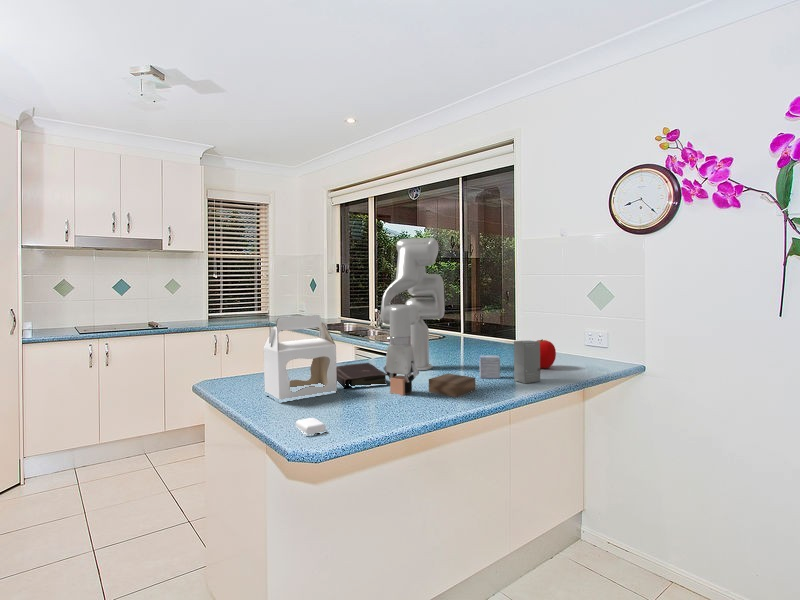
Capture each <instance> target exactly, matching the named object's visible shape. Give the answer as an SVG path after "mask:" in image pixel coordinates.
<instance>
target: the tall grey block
mask: <svg viewBox="0 0 800 600" xmlns="http://www.w3.org/2000/svg"><path fill="white" fill-rule="evenodd" d="M513 369H514V370H513V374H514V375H513V380H514V381H515V382H520V383H522V384H525V383H526V384H531V382H532V383H537V382H541V368H540V342H539V341H537V340H515V341H513Z"/></svg>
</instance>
